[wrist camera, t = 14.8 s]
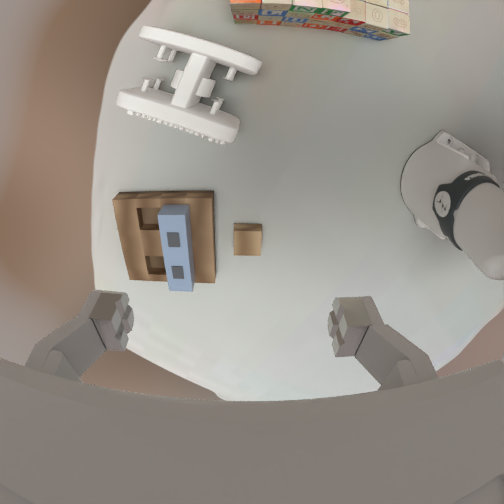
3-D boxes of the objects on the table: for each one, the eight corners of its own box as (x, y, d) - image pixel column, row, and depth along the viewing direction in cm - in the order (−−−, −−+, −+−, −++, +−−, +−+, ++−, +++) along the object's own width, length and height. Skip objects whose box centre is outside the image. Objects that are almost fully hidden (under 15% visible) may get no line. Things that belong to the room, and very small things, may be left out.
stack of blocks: (379, 7, 27) (421, -9, 17) (379, 41, 30) (423, 34, 20) (234, -12, 26) (230, -44, 16) (233, 24, 30) (228, 3, 20)
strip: (191, 199, 43) (184, 215, 39) (196, 272, 51) (192, 292, 47) (166, 200, 43) (157, 215, 39) (174, 271, 51) (169, 291, 47)
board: (213, 190, 44) (211, 198, 42) (216, 272, 53) (214, 283, 50) (119, 192, 43) (112, 199, 41) (134, 269, 52) (129, 279, 50)
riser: (261, 224, 48) (262, 231, 45) (259, 247, 50) (260, 255, 48) (234, 223, 47) (233, 230, 45) (234, 246, 50) (233, 255, 48)
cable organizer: (264, 68, 34) (272, 63, 24) (234, 132, 39) (230, 150, 29) (166, 35, 30) (138, 22, 20) (140, 100, 35) (106, 109, 26)
